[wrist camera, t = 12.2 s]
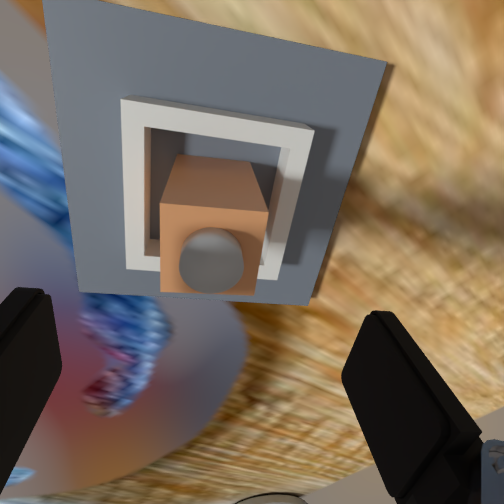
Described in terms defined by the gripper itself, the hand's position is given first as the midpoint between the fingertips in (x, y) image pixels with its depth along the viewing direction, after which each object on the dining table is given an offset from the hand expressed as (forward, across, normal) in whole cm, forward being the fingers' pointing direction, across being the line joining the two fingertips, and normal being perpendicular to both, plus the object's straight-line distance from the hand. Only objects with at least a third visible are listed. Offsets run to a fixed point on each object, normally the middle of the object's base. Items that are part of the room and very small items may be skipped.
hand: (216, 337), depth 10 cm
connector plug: (+11, 0, -1) cm, 11 cm away
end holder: (+12, 0, -1) cm, 12 cm away
